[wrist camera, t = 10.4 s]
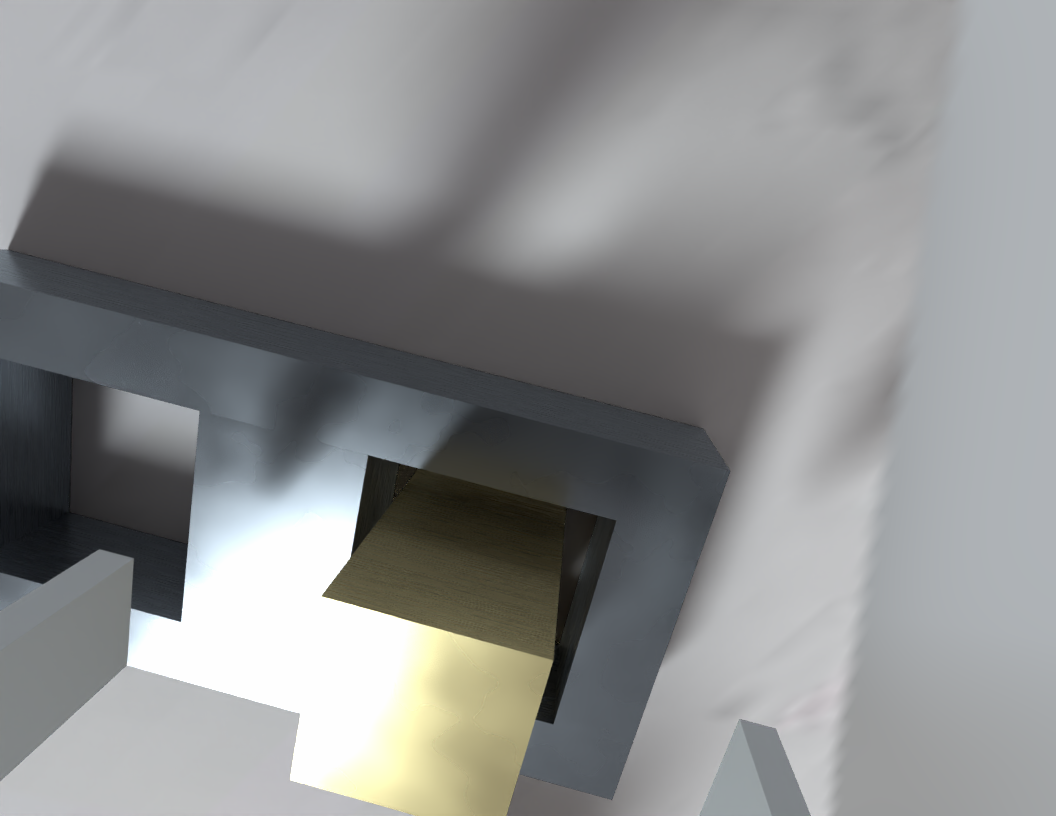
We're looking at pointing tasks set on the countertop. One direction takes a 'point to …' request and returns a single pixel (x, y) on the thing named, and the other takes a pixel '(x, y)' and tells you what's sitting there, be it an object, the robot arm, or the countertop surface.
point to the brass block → (434, 651)
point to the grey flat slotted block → (337, 492)
